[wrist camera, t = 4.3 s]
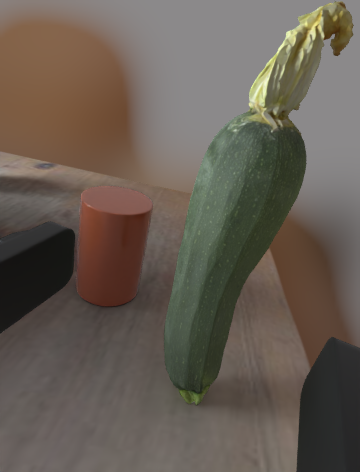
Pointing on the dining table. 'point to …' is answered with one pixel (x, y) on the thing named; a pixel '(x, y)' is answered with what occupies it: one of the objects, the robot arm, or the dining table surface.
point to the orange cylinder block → (111, 244)
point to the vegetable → (242, 202)
